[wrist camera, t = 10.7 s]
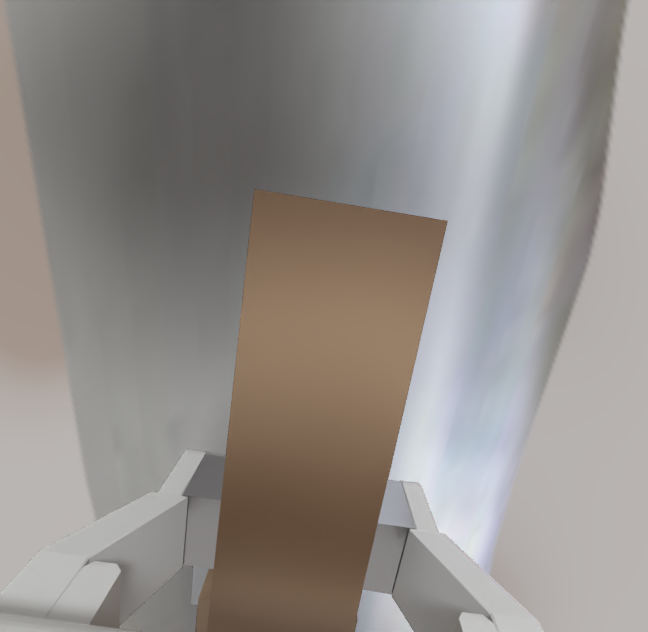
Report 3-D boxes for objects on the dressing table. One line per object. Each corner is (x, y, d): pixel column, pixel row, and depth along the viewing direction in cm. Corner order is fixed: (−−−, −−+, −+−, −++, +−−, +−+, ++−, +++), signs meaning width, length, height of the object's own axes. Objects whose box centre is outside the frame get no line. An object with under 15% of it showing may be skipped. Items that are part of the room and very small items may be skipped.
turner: (247, 200, 9) (189, 178, 5) (435, 231, 9) (510, 231, 6) (194, 714, 14) (140, 907, 10) (322, 730, 14) (321, 928, 10)
